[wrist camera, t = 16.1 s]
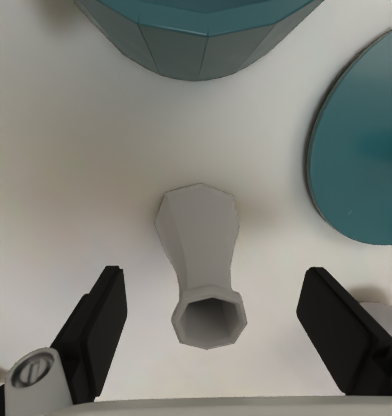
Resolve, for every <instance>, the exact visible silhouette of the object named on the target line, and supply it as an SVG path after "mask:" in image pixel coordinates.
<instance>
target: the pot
mask: <svg viewBox="0 0 392 416" xmlns="http://www.w3.org/2000/svg"><path fill="white" fill-rule="evenodd" d="M73 1H74V2H75V3H76V4H77V5H78V6H79V8H80V9H81V10H82V11H83V12H84V13H85V14H86V16H87V17H88V18H89V19H90V20H91V21H92V23H93V24H94V25H95V26H96V27H97V28H98V29H99V30H100V31H101V32H102V33H103V34H104V35H105V36H106V37H107V38H108V39H109V40H110V41H111V42H112V43H113V44H114V45H115V46H116V47H117V48H118V49H119V50H120V51H121V52H122V53H123V54H124V55H125V56H127V57H129V58H130V59H132V60H133V61H135V62H137V63H138V64H140V65H142V66H143V67H145V68H147V69H149V70H151V71H153V72H156V73H158V74H160V75H163V76H167V77H171V78H174V79H180V80H189V81H200V80H210V79H216V78H221V77H224V76H227V75H230V74H233V73H236V72H237V71H239V70H241V69H243V68H245V67H247V66H249V65H250V64H252V63H253V62H255V61H256V60H257V59H259V58H261V57H262V56H264V55H266V54H267V53H268V52H270V51H271V50H272V49H273V48H274V47H275V46H276V45H277V44H278V43H279V42H280V41H281V40H282V39H283V38H284V37H286V36H287V35H288V34H289V33H290V32H291V31H292V30H293V29H294V28H295V27H296V26H297V25H298V24H299V23H300V22H302V21H303V20H304V19H305V18H306V17H307V16H308V15H309V14H310V13H311V12H312V11H313V10H314V9H315V8H316V7H318V6H319V5H320V4H321V3H322V2H323V1H324V0H73Z"/></svg>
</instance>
